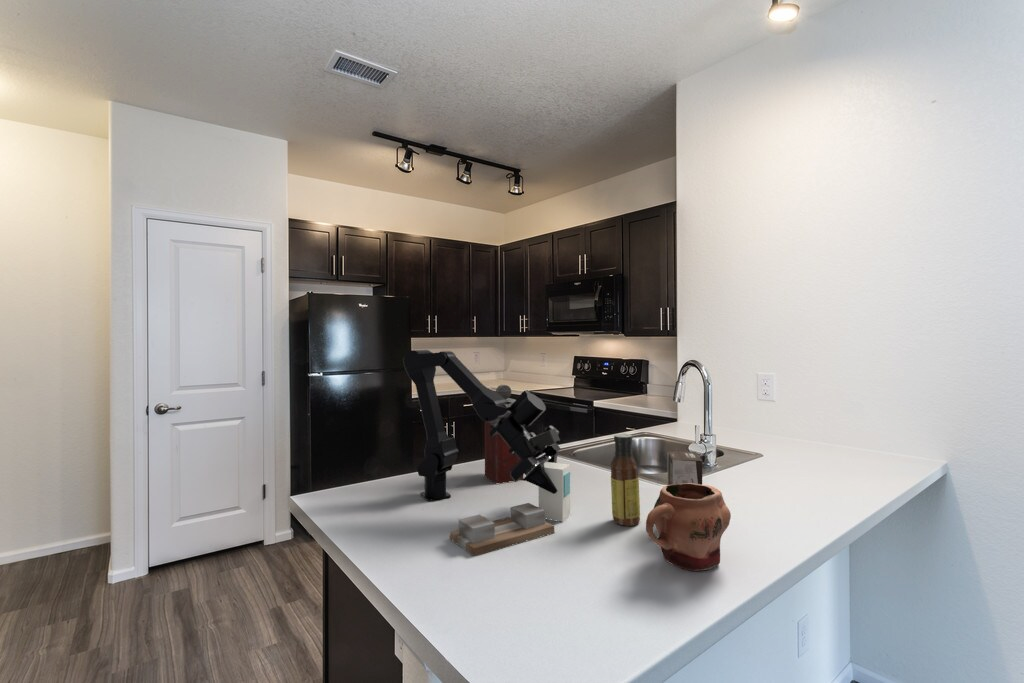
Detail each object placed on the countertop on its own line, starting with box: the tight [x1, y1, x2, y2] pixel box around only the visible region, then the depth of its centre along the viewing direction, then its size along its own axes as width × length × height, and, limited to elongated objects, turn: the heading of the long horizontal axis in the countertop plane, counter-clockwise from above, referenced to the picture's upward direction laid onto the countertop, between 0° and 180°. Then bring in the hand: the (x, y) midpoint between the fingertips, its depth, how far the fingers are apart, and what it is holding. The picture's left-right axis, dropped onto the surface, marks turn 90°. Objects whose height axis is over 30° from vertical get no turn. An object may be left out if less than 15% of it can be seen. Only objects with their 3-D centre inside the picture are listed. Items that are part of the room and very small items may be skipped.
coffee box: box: [666, 450, 703, 485], centre depth 110 cm, size 9×6×16 cm
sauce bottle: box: [610, 433, 641, 527], centre depth 113 cm, size 6×6×20 cm
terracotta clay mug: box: [645, 483, 732, 572], centre depth 92 cm, size 20×12×14 cm, turn 125°
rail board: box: [449, 502, 555, 557], centre depth 105 cm, size 10×20×4 cm, turn 125°
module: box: [538, 462, 571, 522], centre depth 117 cm, size 6×5×12 cm
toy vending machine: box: [484, 384, 524, 484], centre depth 150 cm, size 9×11×28 cm
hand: (560, 489), depth 116 cm, fingers closed on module, 5 cm apart
